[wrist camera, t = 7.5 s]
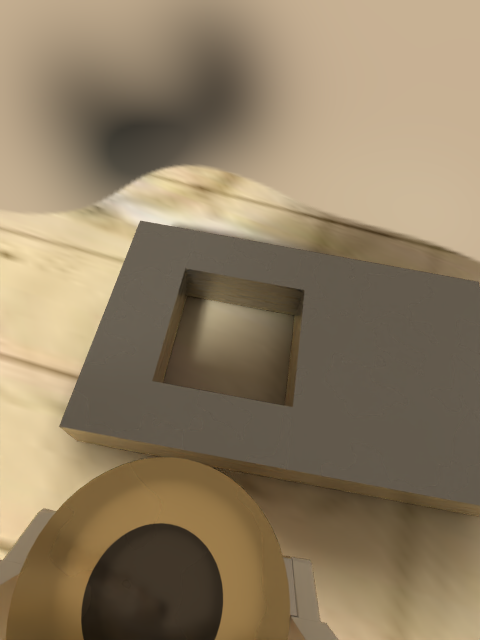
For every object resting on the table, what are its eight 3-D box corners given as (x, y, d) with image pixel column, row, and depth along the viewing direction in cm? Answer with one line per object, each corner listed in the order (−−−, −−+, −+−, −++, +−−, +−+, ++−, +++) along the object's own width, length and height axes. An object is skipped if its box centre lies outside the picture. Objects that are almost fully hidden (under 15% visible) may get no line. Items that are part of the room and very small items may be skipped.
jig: (77, 440, 18) (59, 426, 15) (146, 251, 23) (140, 220, 21) (478, 516, 17) (517, 512, 15) (452, 306, 23) (478, 281, 21)
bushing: (83, 643, 13) (-57, 770, 6) (129, 484, 15) (69, 436, 8) (230, 672, 13) (273, 835, 6) (253, 508, 15) (302, 480, 8)
